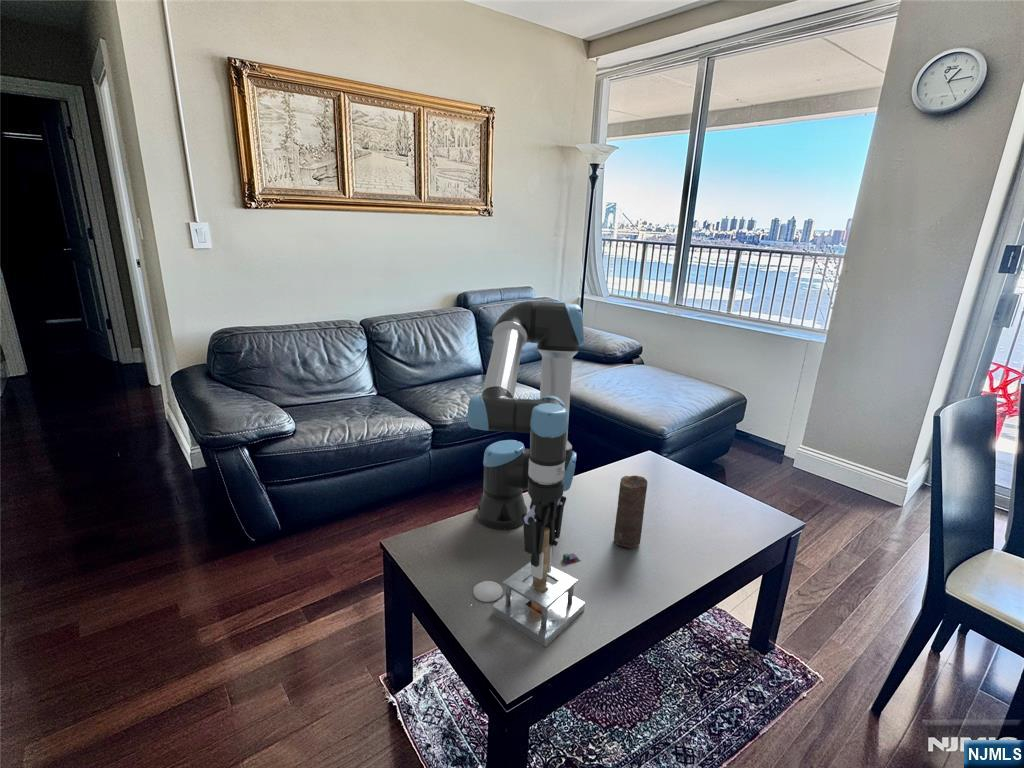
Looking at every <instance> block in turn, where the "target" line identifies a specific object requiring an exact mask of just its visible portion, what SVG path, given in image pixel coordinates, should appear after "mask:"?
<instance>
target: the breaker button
mask: <svg viewBox="0 0 1024 768" xmlns="http://www.w3.org/2000/svg"><path fill="white" fill-rule="evenodd" d="M530 608H532V609H533V610H535V611H537V612H538V613H540V614H542V607H540V606H538V605H537V604H535V603H533V602H532V601H531V607H530Z"/></svg>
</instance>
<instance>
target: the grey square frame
mask: <svg viewBox="0 0 1024 768" xmlns="http://www.w3.org/2000/svg"><path fill="white" fill-rule="evenodd" d="M547 578H550V579H551V580H553V581H555V582H556V583H554V584H552V583H550V582H549V581H547V583H546V587H547V588H548V590H547V591H546V592H545V593H541V592H539V591H537V590H536V589H534V588H532V587H533V586H534V576H533V575H531V561H529V562H528V563H527V564H525V565H524V566H523V567H521V568H520V569H518V570H517V571H516V572H515V573H513V574H511V575H510V576H509V577H507V578H506V579H505V580H504V581H502V585H503V586H504V587H505V595H504V596H503V597H502V598H500V599H498V600H497V601H496V602H495V603H493V604H492V611H491V612H492V614H494V615H495V616H497V617H498V618H500V619H501V620H503V621H505V623H508V624H509V625H510V626H512V627H513V628H515V629H516V630H518V631H519V632H521V633H523V634H524V635H526V636H527V637H529V638H530V639H532V640H534V641H535V642H537V643H538V644H540V645H541V646H543V647H545V648H546V647H547V646H549V645H550V644H551V643H552V642H553V641H554V640H555V639H556V638H557V637H558V636H559V635H560V634H561V633H562V632H563V631H564V630H565V629H566V628H567V627H568V626H569V625H571V623H573V621H575V619H576V618H577V617H578V616H579V615H581V614H582V613H583V612H584V610H585V608H586V607H585V605H586V602H585V601H583V600H581V599H579V598H577V597H576V596H574V589H575V588H574V587H575V585H577V583H578V581H579V579H577V578H575V577H573V576H571V575H569V574H568V573H566V572H563V571H562V570H559V569H558V568H556V567H554V566H552V565H551V572H550V573H548V572H547ZM531 601H532V602H533V603H535V604H537V605H538V606H540V607H542V614H540V613H538V612H537V611H535V610H533V609H532V608H531Z"/></svg>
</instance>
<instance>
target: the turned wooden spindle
mask: <svg viewBox="0 0 1024 768" xmlns="http://www.w3.org/2000/svg"><path fill="white" fill-rule="evenodd" d="M549 533H550V529H549V527H547V526H545V530H544V537H543V544H542V552H544V561H543V578H542V579H541V580H540V579H538V578H536V577H534V586H533V587H532V588H534V589H536V590H537V591H539V592H541V593H545V592H546V591H547V590H548V588H547V587H546V583H547V582H548V581H547V580H548V576H547V567H548V550H549Z"/></svg>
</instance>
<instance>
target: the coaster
mask: <svg viewBox="0 0 1024 768" xmlns="http://www.w3.org/2000/svg"><path fill="white" fill-rule="evenodd" d="M472 592H473V596H474V598H476V599H477V600H478V601H480V602H484V603H493V602H495V601H496V602H497V601H499V600H500V599H501V597H502V595H503V593H504V590H503V587H502V585H500V584H499V583H497V582H494V581H492V580H491V581H490V580H484V581H481V582H479V583H477V584H476V585H475V586H474V587H473V591H472Z"/></svg>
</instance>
